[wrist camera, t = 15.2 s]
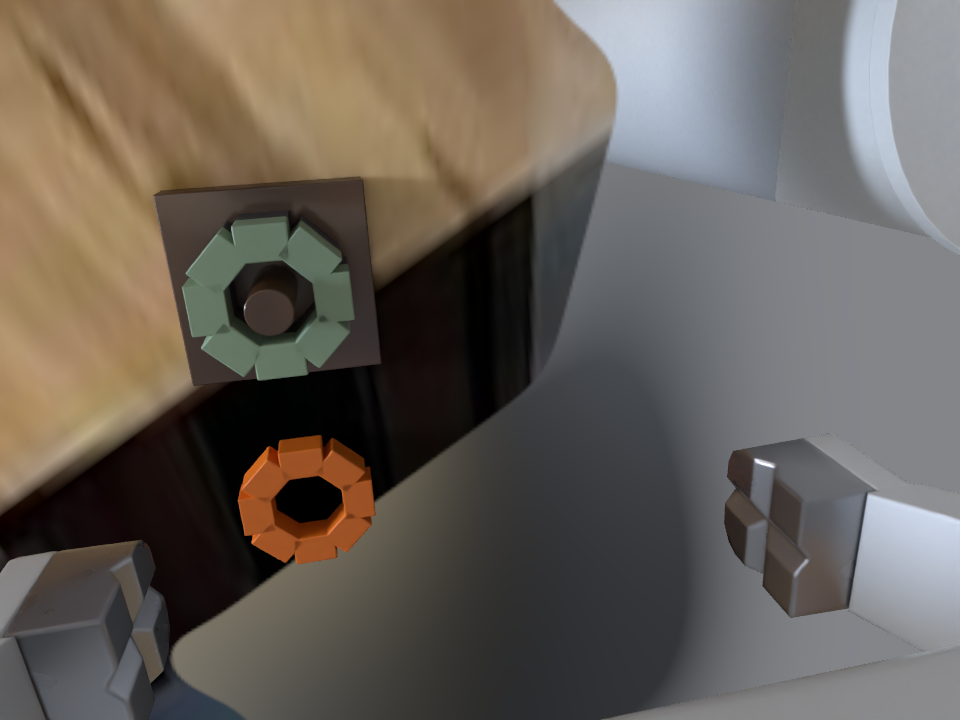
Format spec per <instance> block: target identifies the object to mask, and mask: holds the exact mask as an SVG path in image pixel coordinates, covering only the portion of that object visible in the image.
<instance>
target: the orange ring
mask: <svg viewBox="0 0 960 720" xmlns="http://www.w3.org/2000/svg"><path fill="white" fill-rule="evenodd" d="M312 476H320V477H322V478H324V479H325V480H327V481H328V482H330V483H331V484H333V485H335V486H336V487H338V488H339V489H341V490H342V496H343V502H342V503H341V504H340V505H339V507H338V508H337V509H336V510H335V511H334V512H333V513H332V514H331V516H330V517H329V518H328V519H325V520H318V521H312V522H305V523H298V522H297V521H295V520H293V519H292V518H290V517H288V516H287V515H285V514H283V513H282V512H280V511H278V510H277V506H276V500H275V496H276V494H277V493H278V492H279V491H280V490H281V489H282V488H283V486H284V485H285V484H286V483H287V482H288V481H289V480H291V479H298V478H305V477H312ZM238 502H239V507H240V512H241V517H242V522H243V527H244V532H245V536H248V535H253V538H252V544H253V545H255V546H256V547H258V548H260V549H262V550H264V551H265V552H267V553H269V554H271V555H272V556H274V557H276V558H278V559H280V560H281V561H283V562H285V563H286V562H287V561H288V560H289V559H290V558H291V556H292V555H293V554H294V553H295V559H296V563H297V564H303V563H309V562H315V561H321V560H327V559H333V558H337V547H338V548H340V549H342V550H343V551H345V552H348V551H349V550H350V548H351V547H352V546H353V545H354V544H355V543H356V542H357V541H358V539H359V538H360V537H361V536H362V535H363V534H364V533H365V532H366V531H367V529H368V528H369V527H370V526H371V525H372V522H371V516H375V506H374V497H373V489H372V480H371V473H370V467H365V464H364V458H363V457H361V456H360V455H358V454H357V453H355V452H354V451H352V450H351V449H349V448H348V447H346V446H345V445H343V444H342V443H340V442H339V441H337V440H336V439H334V438H331V439H330V440H329V442H328V443H327V444H326V445H325V446H324V447H323V441H322V436H321V435H316V436H309V437H301V438H294V439H287V440H280V441H279V449H278V451H277V450H276V449H274V448H272V447H271V446H269V447H268V448H267V449H266V450H265V451H264V453H263V454H262V455H261V456H260V457H259V458H258V460H257V461H256V462H255V463H254V464H253V465H252V467H251V468H250V469H249V470H248V471H247V472H246V474H245V475H244V480H243V485H241V489H240V494H239V499H238Z"/></svg>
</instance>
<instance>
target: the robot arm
mask: <svg viewBox="0 0 960 720" xmlns="http://www.w3.org/2000/svg"><path fill="white" fill-rule="evenodd" d="M727 477H728V478H729V480H730V481H731V482H732V484H733V485H734V486H735V488H736V489H735V490H734V492H733V493H732V495H731V496H730V497H729V499H728V500H727V501H726V503H725V520H724V524H725V528H726V532H727V536H728V540H729V543H730V545H731V547H732V549H733V551H734V553H735V554H736V555H737V557H738V558H739V559H740V560H741V561H742V563H743V564H744V565H745V566H747V567H749V568H751V569H754V570H756V571H758V572H760V573H763V574H764V575H763V587H764V588H765V589H766V591H767V592H768V593H769V594H770V595H771V596H772V597H773V598H774V600H775V601H776V602H777V603H778V604H779V605H780V607H781V608H782V609H783V610H784V611H785V612H786V613H787V614H788V616H789V617H790V618H793V617H799V616H805V615H810V614H817V613H823V612H829V611H835V610H841V609H847V608H849V612H851V613H853V614H855V615H857V616H858V617H860V618H862V619H864V620H866V621H868V622H869V623H871V624H873V625H875V626H877V627H879V628H881V629H882V630H884V631H886V632H888V633H890V634H892V635H893V636H895V637H897V638H899V639H901V640H902V641H904V642H906V643H908V644H910V645H912V646H914V647H916V648H917V649H919V650H921V651H923V652H920V653H916V654H911V655H906V656H901V657H897V658H892V659H887V660H882V661H878V662H873V663H868V664H864V665H859V666H854V667H849V668H844V669H840V670H835V671H830V672H825V673H821V674H816V675H811V676H806V677H802V678H797V679H792V680H788V681H782V682H778V683H773V684H768V685H764V686H759V687H754V688H750V689H745V690H740V691H735V692H730V693H725V694H721V695H716V696H711V697H706V698H702V699H697V700H692V701H687V702H683V703H678V704H673V705H668V706H664V707H659V708H654V709H650V710H645V711H640V712H635V713H631V714H626V715H621V716H617V717H612V718H607V719H602V720H960V494H959V493H955V492H951V491H947V490H944V489H940V488H936V487H933V486H929V485H925V484H916V485H911V484H910V483H908V482H906V481H905V480H904V479H902V478H901V477H899V476H898V475H896V474H895V473H893V472H892V471H890V470H889V469H887V468H886V467H884V466H883V465H881V464H880V463H878V462H877V461H875V460H874V459H872V458H871V457H869V456H868V455H866V454H865V453H863V452H862V451H860V450H859V449H858V448H856V447H854V446H853V445H852V444H850V443H848V442H847V441H845V440H844V439H843V438H841V437H839V436H838V435H833V434H828V433H827V434H822V435H817V436H812V437H806V438H802V439H797V440H792V441H786V442H780V443H775V444H769V445H764V446H759V447H753V448H747V449H742V450H737V451H733V453H732V455H731V458H730V460H729V465H728V475H727ZM155 568H156V567H155V564H154V561H153V558H152V554H151V551H150V548H149V546H148V545H147V544H146V543H145V542H144V541H143V540H139V541H132V542H124V543H117V544H109V545H102V546H94V547H87V548H79V549H72V550H64V551H60V552H56V551H54V552H48V553H42V554H36V555H30V556H24V557H19V558H16V559H13V560H11V561H9V562H8V563H7V565H6V566H5V568H4V569H3V570H2V572H1V573H0V720H149V717H150V713H151V710H152V707H153V703H154V700H155V698H154V695H153V691H152V688H151V684H150V683H151V682H152V681H153V680H154V679H155V678H156V677H157V676H158V675H159V674H161V673H162V672H163V670H164V666H165V663H166V659H167V655H168V648H169V632H170V629H169V620H168V612H167V608H166V604H165V600H164V596H163V595H161V594H160V593H159V592H157V591H156V590H155V589H153V588H152V587H150V586H149V585H150V582H151V579H152V577H153V574H154V571H155Z"/></svg>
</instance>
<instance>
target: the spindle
mask: <svg viewBox="0 0 960 720" xmlns="http://www.w3.org/2000/svg"><path fill="white" fill-rule="evenodd" d="M153 197H154V202H155V207H156V212H157V216H158V221H159V226H160V231H161V235H162V240H163V245H164V250H165V254H166V259H167V264H168V269H169V273H170V278H171V283H172V288H173V292H174V297H175V302H176V307H177V311H178V316H179V321H180V326H181V331H182V335H183V340H184V345H185V350H186V354H187V359H188V364H189V369H190V373H191V378H192V383H193V385H194V386H197V385H205V384H214V383H222V382H231V381H239V380H248V379H256V378H257V375H256V369H255V365H254V367H253V368H252V369H251V370H250V371H249V373H248V374H247V375H246V376H245V377H243V376H241V375H240V374H238V373H237V372H235V371H234V370H232V369H231V368H229V367H228V366H226V365H225V364H223V363H222V362H220V361H219V360H217V359H216V358H214V357H213V356H211V355H210V354H208V353H207V352H205V351H204V350H202V349H201V347H202V345H203V343H204V341H205V338H206V336H202V337H192V334H191V329H190V324H189V319H188V314H187V309H186V304H185V299H184V295H183V290H182V287H183V286H184V284H185V283H186V282H187V280H188V279H189V278H190V277H189V276H187V275H186V272H187V271H188V269H189V268H190V267H191V265H192V264H193V263H194V261H195V260H196V259H197V257H198V256H199V255H200V254H201V252H202V251H203V250H204V249H205V247H206V246H207V245H208V244H209V242H210V241H211V240H212V239H213V237H214V236H215V235H216V234H217V232H218V231H219V230H220V229H221V227H222V226H223V225H224V224H225V222H226V221H229V222H230V223H231V224H233V223H234V222H235V220H236V218H237V217H238V215H239V214H249V213H262V212H275V211H289V212H290V219H291V226H293V225H294V224H295V222H296V221H297V220H298V219H299V217H300V216H301V215H303V216H305V217H306V218H307V219H308V220H310V221H311V222H312V223H313V224H315V225H316V226H317V227H318V228H320V229H321V230H322V231H323V232H325V233H326V234H327V235H328V236H330V237H331V238H332V239H333V240H335V241H336V242H337V243H338V244H340V248H341V255H342V257H343V256H346V257H347V261H348V267H349V273H350V281H351V290H352V298H353V307H354V316H355V319H354V320H350V321H349V325H350V334H349V335H348V336H347V337H346V339H345V340H344V341H343V342H342V343H341V344H340V346H339V347H338V348H337V349H336V350H335V352H334V353H333V354H332V355H331V356H330V357H329V359H328V360H327V361H326V362H325V363H324V364H323V366H322V367H320V368H319V367H317V366H316V365H314V364H313V363H311V362H310V361H309V369H308V372H315V371H324V370H332V369H341V368H349V367H358V366H366V365H375V364H381V363H382V361H381V351H380V342H379V332H378V322H377V313H376V303H375V294H374V284H373V274H372V265H371V255H370V246H369V236H368V227H367V217H366V207H365V198H364V188H363V181H362V179H361V177H346V178H332V179H318V180H304V181H290V182H276V183H262V184H248V185H234V186H219V187H205V188H191V189H177V190H163V191H160V192H158V193H156V194H155V195H153ZM234 285H235V291H236V296H237V302H238V306H239V307H241V308H242V309H244V317H245V320H246V322H247V324H248V325H249V326H250V328H251V329H253V330H254V331H255V332H257V333H259V334H262V335H266V336H274V335H278V334H281V333H283V332H285V331H286V330H287V329H288V328H289V327H290V326H291V324H292V323H293V322H296V321H298V320H299V319H300V318H301V316H302V315H303V314H304V313H305V312H306V310H307V309H308V308H309V307H310V306H311V304H312V303H313V302H314V301H315V299H314V292H313V284H312V282H310V281H309V280H308V279H307V278H305V277H304V276H303V275H301V274H300V273H299V272H297V271H296V270H295V269H293V268H292V267H291V266H289V265H288V264H287V263H285V262H284V261H273V262H262V263H251V264H246V265H245V266H244V267H243V269H242V270H241V271H240V272H239V274H238V275H237V276H236V277H235V278H234Z"/></svg>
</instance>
